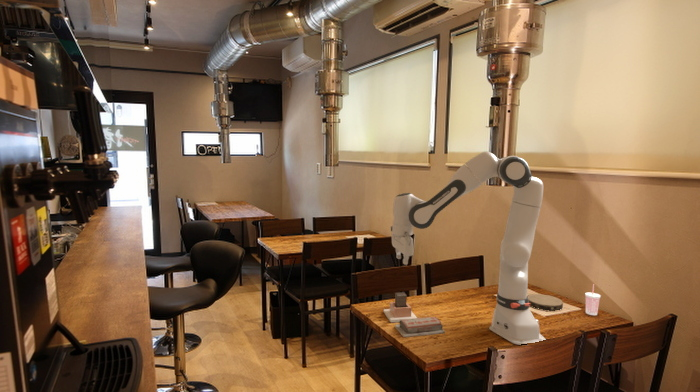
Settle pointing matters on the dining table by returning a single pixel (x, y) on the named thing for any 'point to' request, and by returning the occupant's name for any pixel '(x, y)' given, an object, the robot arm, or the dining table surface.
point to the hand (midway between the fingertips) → (401, 261)
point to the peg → (400, 300)
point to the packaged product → (419, 326)
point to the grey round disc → (545, 302)
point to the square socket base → (399, 313)
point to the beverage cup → (592, 302)
